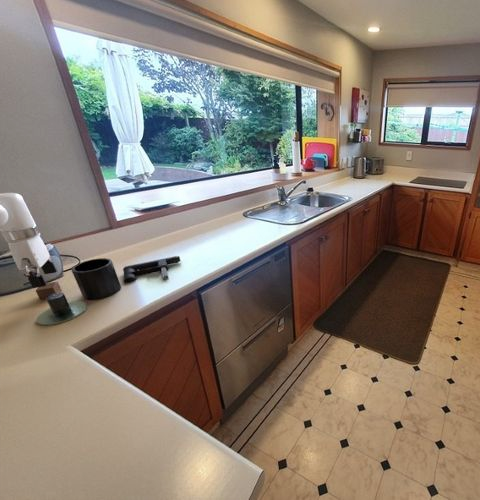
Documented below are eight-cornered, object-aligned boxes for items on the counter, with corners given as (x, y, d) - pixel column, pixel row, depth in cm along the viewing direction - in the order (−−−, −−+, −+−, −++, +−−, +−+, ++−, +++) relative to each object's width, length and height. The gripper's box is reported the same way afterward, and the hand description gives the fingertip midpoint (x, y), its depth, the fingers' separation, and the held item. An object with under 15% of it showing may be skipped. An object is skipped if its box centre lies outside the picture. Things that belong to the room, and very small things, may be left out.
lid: (31, 331, 82) (19, 311, 79) (46, 310, 91) (36, 291, 88) (82, 320, 87) (74, 301, 84) (92, 301, 96) (84, 283, 93)
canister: (80, 304, 94) (66, 275, 89) (88, 289, 102) (76, 261, 97) (118, 297, 99) (107, 268, 94) (123, 283, 107) (114, 256, 102)
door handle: (184, 269, 113) (178, 253, 124) (122, 284, 102) (122, 264, 113) (185, 276, 114) (180, 259, 125) (124, 291, 103) (124, 271, 115)
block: (40, 301, 95) (35, 290, 93) (46, 295, 98) (40, 284, 97) (58, 298, 97) (53, 287, 95) (62, 292, 100) (57, 281, 99)
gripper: (17, 226, 93) (41, 270, 101) (-11, 245, 80) (18, 295, 87) (48, 222, 96) (68, 266, 104) (26, 241, 83) (51, 289, 90)
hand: (45, 279), depth 95 cm, fingers open, 9 cm apart
